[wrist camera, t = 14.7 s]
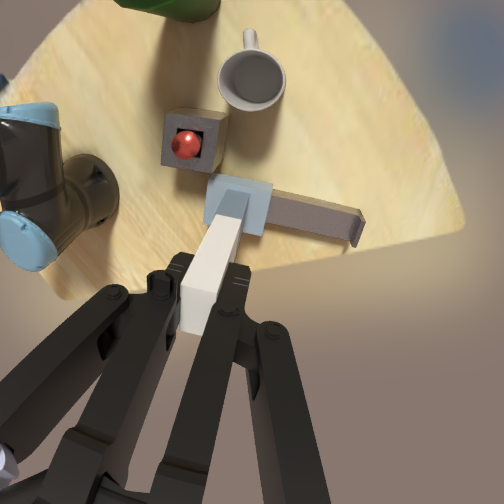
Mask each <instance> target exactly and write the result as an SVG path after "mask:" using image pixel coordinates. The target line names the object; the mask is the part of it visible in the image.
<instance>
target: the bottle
mask: <svg viewBox="0 0 504 504" xmlns="http://www.w3.org/2000/svg"><path fill="white" fill-rule="evenodd" d="M113 1H115V2H116V3H117V4H118V5H120V6H121V7H123V8H129V9H133V10H138V11H143V12H147V13H151V14H155V15H159V16H163V17H167V18H171V19H174V20H178V21H183V22H189V23H195V22H198V21H202V20H205V19H207V18H208V17H209V16H210V15H212V14H213V13H214V12H215V11H216V10H217V8H218V5H219V3H220V0H113Z"/></svg>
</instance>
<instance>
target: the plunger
mask: <svg viewBox="0 0 504 504" xmlns="http://www.w3.org/2000/svg"><path fill="white" fill-rule="evenodd" d="M203 135H204V132H203V131H196V130H190V131H182V132H180V133H178V134H177V135H175V136H174V138H173V140H172V143H171V148H172V151H173V153H174V154H175V155H176V156H177V157H178V158H180V159H184V160H187V159H191V158H193V157H194V156H195V155H196V154H197V153H198V152H199V150H200V148H201V146H202V142H203Z"/></svg>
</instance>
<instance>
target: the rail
mask: <svg viewBox="0 0 504 504" xmlns="http://www.w3.org/2000/svg"><path fill="white" fill-rule="evenodd" d="M265 222H267V223H271V224H276V225H281V226H285V227H290V228H295V229H299V230H304V231H308V232H313V233H317V234H322V235H326V236H330V237H335V238H339V239H344V240H348V241H350V243H351V246H352V247H355V248H356V247H357V244H358V241H359V239H360V236H361V234H362V231H363V228H364V226H365V223H366V222H365V219H364V217H363V215H362V213H361V211H360V210H359V209H355V208H352V207H348V206H344V205H340V204H336V203H332V202H328V201H323V200H319V199H315V198H311V197H306V196H302V195H298V194H293V193H289V192H284V191H280V190H275V189H272V194H271V198H270V203H269V207H268V212H267V216H266V221H265Z"/></svg>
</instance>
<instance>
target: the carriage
mask: <svg viewBox="0 0 504 504" xmlns="http://www.w3.org/2000/svg"><path fill="white" fill-rule="evenodd" d="M272 188H273V184H270V183H265V182H260V181H255V180H250V179H245V178H240V177H235V176H230V175H224V174H219V173H213V174H212V175H211V176H210V177H209V179H208V185H207V193H206V201H205V210H204V218H203V224H205V225H211V223H212V221H213V219H214V217H215V216H216V214H217V215H222V216H227V217H232V218H236V219H241V220H242V221H241V227H240V232H239V237H238V243H237V248H236V253H237V250H238V246H239V243H240V239H241V236H242V232H244V233H249V234H253V235H258V236H262V234H263V230H264V225H265V221H266V216H267V212H268V207H269V203H270V198H271V194H272ZM235 257H236V254H235ZM234 260H235V259H234Z"/></svg>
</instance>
